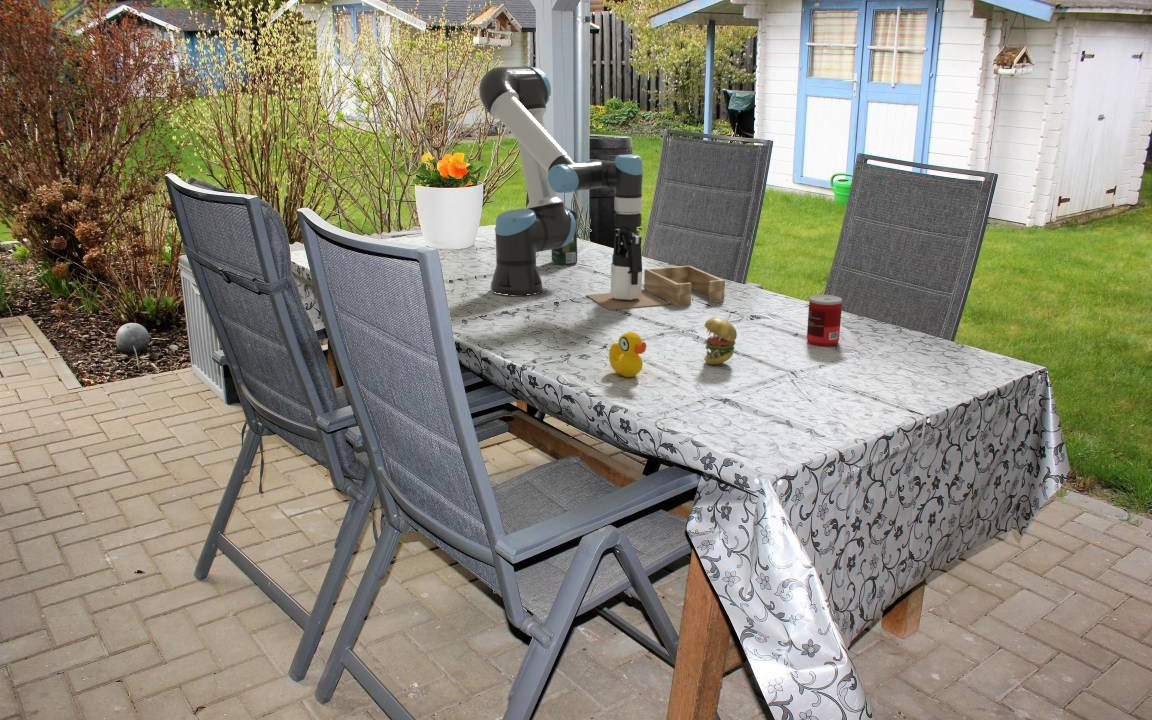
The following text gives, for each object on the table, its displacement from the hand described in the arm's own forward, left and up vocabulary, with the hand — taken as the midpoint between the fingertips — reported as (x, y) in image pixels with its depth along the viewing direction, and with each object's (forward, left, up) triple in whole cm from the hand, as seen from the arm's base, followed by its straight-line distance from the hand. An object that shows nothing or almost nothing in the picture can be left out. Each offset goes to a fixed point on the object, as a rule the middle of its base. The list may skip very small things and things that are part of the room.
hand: (626, 292), depth 283 cm
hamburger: (-4, -63, -3) cm, 63 cm away
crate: (+18, 0, -2) cm, 18 cm away
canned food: (+28, -56, -3) cm, 63 cm away
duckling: (-27, -64, -3) cm, 70 cm away
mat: (0, 0, -2) cm, 2 cm away
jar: (0, 0, -2) cm, 2 cm away
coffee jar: (+1, +56, -3) cm, 56 cm away
